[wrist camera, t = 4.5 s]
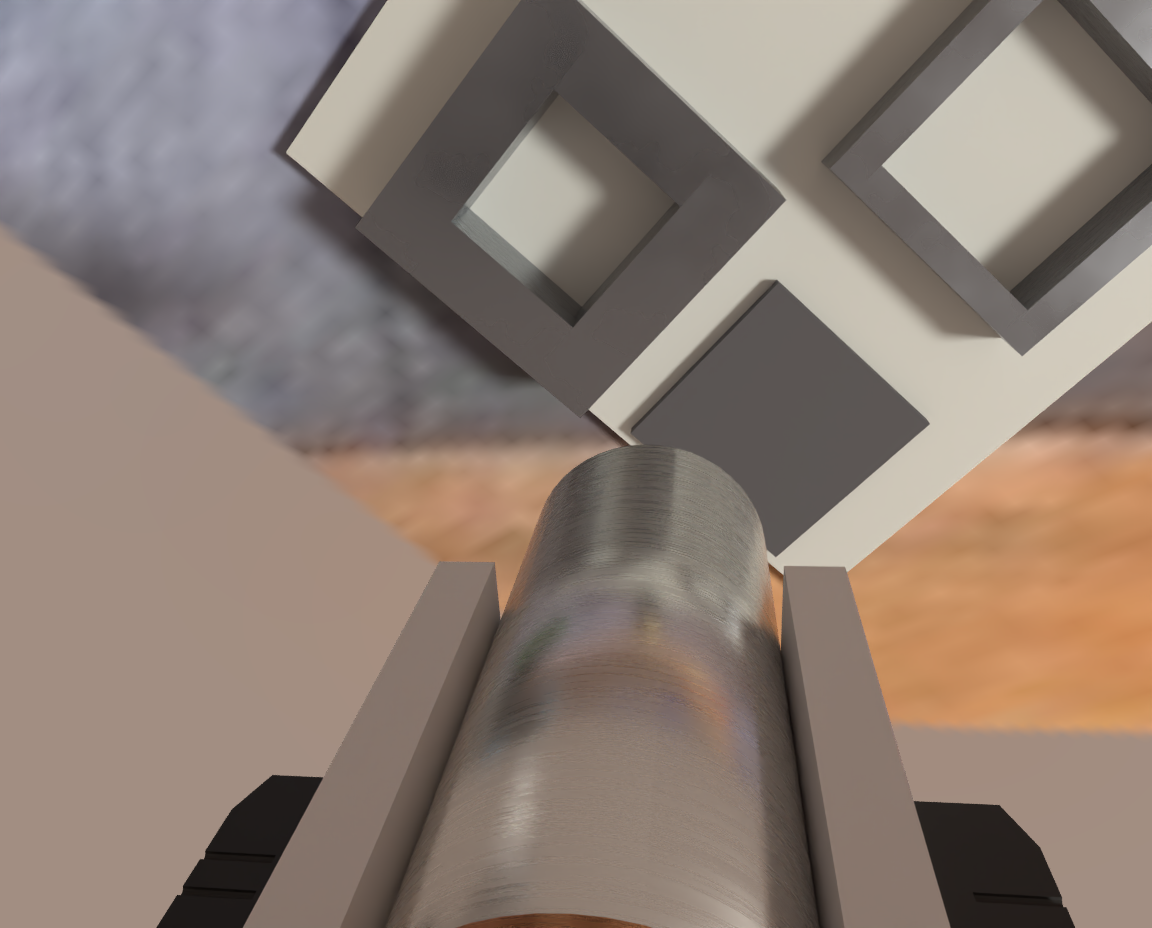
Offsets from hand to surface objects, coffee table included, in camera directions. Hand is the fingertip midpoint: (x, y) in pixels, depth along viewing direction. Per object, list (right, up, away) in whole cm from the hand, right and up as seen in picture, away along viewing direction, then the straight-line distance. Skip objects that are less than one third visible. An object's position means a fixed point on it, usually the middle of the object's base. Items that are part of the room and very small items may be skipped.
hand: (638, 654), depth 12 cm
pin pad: (+6, +4, +19) cm, 20 cm away
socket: (+12, +12, +15) cm, 23 cm away
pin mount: (-1, +11, +17) cm, 20 cm away
